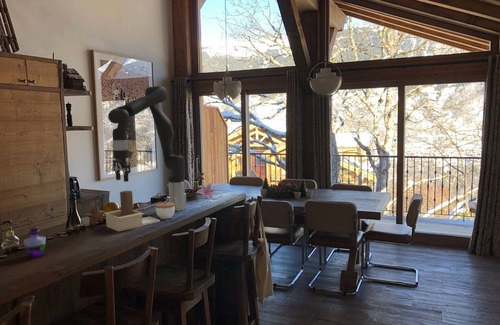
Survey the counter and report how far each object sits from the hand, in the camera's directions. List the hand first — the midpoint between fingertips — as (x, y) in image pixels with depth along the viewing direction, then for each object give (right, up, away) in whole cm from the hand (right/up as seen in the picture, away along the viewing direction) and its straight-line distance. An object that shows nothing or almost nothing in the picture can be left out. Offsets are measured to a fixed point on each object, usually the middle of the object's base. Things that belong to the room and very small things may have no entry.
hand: (122, 180), depth 203 cm
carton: (0, -24, +2) cm, 24 cm away
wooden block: (0, -24, +3) cm, 24 cm away
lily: (+35, -16, +73) cm, 83 cm away
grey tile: (+9, -23, +11) cm, 27 cm away
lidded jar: (+18, -22, +20) cm, 34 cm away
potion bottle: (-22, -29, -40) cm, 54 cm away
